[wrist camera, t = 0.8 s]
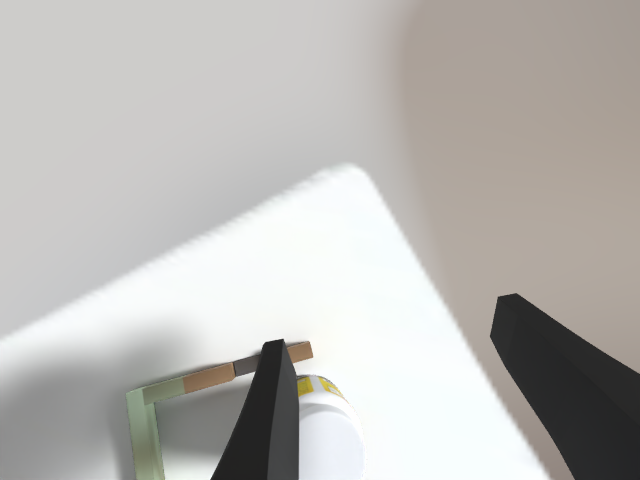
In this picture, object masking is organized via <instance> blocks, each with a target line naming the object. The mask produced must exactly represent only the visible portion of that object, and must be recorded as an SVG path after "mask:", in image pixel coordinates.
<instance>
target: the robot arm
mask: <svg viewBox="0 0 640 480" xmlns="http://www.w3.org/2000/svg"><path fill="white" fill-rule="evenodd" d="M490 338H491V340H492V342H493V344H494V346H495V348H496V350H497V352H498V354H499V356H500V358H501V360H502V361H503V364H504V365H505V367H506V369H507V370H508V372H509V373H510V375H511V376H512V378H513V379H514V381H515V383H516V384H517V386H518V387H519V389H520V390H521V392H522V393H523V395H524V396H525V398H526V399H527V401H528V402H529V404H530V406H531V407H532V408H533V410H534V411H535V413H536V415H537V416H538V418H539V419H540V420H541V422H542V424H543V425H544V427H545V428H546V429H547V431H548V432H549V434H550V436H551V438H552V439H553V441H554V443H555V444H556V446H557V448H558V449H559V451H560V453H561V455H562V456H563V458H564V460H565V462H566V464H567V466H568V468H569V470H570V471H571V473H572V475H573V477H574V479H575V480H640V374H639V373H637V372H635V371H634V370H632V369H630V368H629V367H627V366H625V365H624V364H622V363H621V362H619V361H617V360H615V359H614V358H612V357H611V356H609V355H607V354H606V353H604V352H602V351H601V350H599V349H598V348H596V347H595V346H593V345H592V344H590V343H589V342H587V341H585V340H584V339H582V338H581V337H579V336H578V335H576V334H575V333H573V332H572V331H570V330H569V329H567V328H566V327H564V326H563V325H562V324H560V323H559V322H557V321H556V320H554V319H553V318H551V317H550V316H548V315H547V314H546V313H544V312H543V311H541V310H540V309H538V308H537V307H535V306H534V305H533V304H531V303H530V302H528V301H527V300H526V299H524V298H523V297H521V296H520V295H518V294H517V293H515V294H510V295H505V296H500V297H498V299H497V304H496V309H495V314H494V319H493V324H492V329H491V334H490ZM211 480H299V397H298V386H297V376H296V372H295V369H294V366H293V364H292V361H291V358H290V355H289V353H288V350H287V347H286V344H285V342H284V339H279V340H274V341H269V342H265V343H264V345H263V347H262V351H261V355H260V358H259V362H258V365H257V369H256V372H255V375H254V378H253V381H252V384H251V387H250V389H249V392H248V395H247V398H246V400H245V403H244V406H243V408H242V411H241V413H240V416H239V418H238V421H237V423H236V425H235V428H234V430H233V432H232V435H231V437H230V440H229V442H228V444H227V446H226V449H225V451H224V453H223V455H222V457H221V459H220V461H219V463H218V466H217V468H216V470H215V472H214V474H213V476H212V478H211Z"/></svg>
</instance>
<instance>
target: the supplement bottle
mask: <svg viewBox="0 0 640 480" xmlns="http://www.w3.org/2000/svg"><path fill="white" fill-rule="evenodd" d="M297 386H298V397H299V480H362V479H363V476H364V473H365V468H366V460H367V457H366V447H365V443H364V440H363V432H362V427H361V423H360V421H359V418H358V416H357V414H356V412H355V410H354V409H353V408H352V406H351V405H350V404H349V403H348V401H347V400H346V399H345V398H344V396H343V395H342V394H341V392H340V391H339V390H338V389H337V387H336V386H335V385H334V384H333V383H332V382H330V381H329V380H328V379H326V378H324V377H321V376H318V375H305V376H301V377H298V378H297Z"/></svg>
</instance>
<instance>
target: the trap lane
mask: <svg viewBox="0 0 640 480" xmlns="http://www.w3.org/2000/svg"><path fill="white" fill-rule="evenodd" d="M287 350H288V353H289V355H290V358H291V361H292V363H295V362H299V361H302V360H306V359H309V358H313V353H312V349H311V345H310V342H309V341H307V342H303V343H300V344H296V345H293V346H289V347H287ZM260 355H261V354H260ZM260 355H256V356H253V357H249V358H246V359H242V360H238V361H235V362H234V366H235V371H236V376H237V377H238V376H241V375H245V374H248V373H252V372H255V371H256V369H257V365H258V362H259V358H260ZM234 366H233V362H231V363H228V364H224V365H220V366H217V367H213V368H209V369H206V370H202V371H199V372H195V373H191V374H188V375H184V376H181V377H177V378H173V379H170V380H166V381H162V382H159V383H155V384H152V385H148V386H144V387H141V388H137V389H134V390H132V391H130V392H128V393H126V401H127V409H128V417H129V425H130V433H131V441H132V449H133V457H134V465H135V473H136V480H165V477H164V470H163V463H162V456H161V449H160V442H159V435H158V428H157V421H156V414H155V407H154V403H155V402H158V401H162V400H165V399H169V398H172V397H176V396H179V395H183V394H187V393H190V392H194V391H197V390H201V389H204V388H208V387H211V386H215V385H218V384H222V383H225V382H229V381H232V380H233V379H234V378H235V377H236V376H235V371H234Z"/></svg>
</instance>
